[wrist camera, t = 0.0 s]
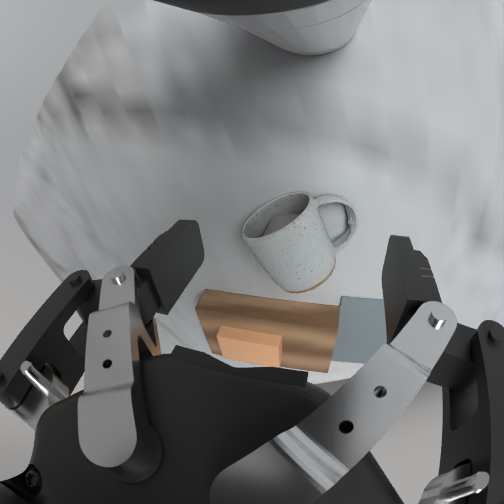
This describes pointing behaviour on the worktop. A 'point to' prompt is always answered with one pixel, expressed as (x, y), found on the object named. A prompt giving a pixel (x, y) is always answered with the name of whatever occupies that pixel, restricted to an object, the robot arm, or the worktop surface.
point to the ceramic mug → (296, 239)
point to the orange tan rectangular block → (250, 346)
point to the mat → (359, 329)
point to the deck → (275, 325)
